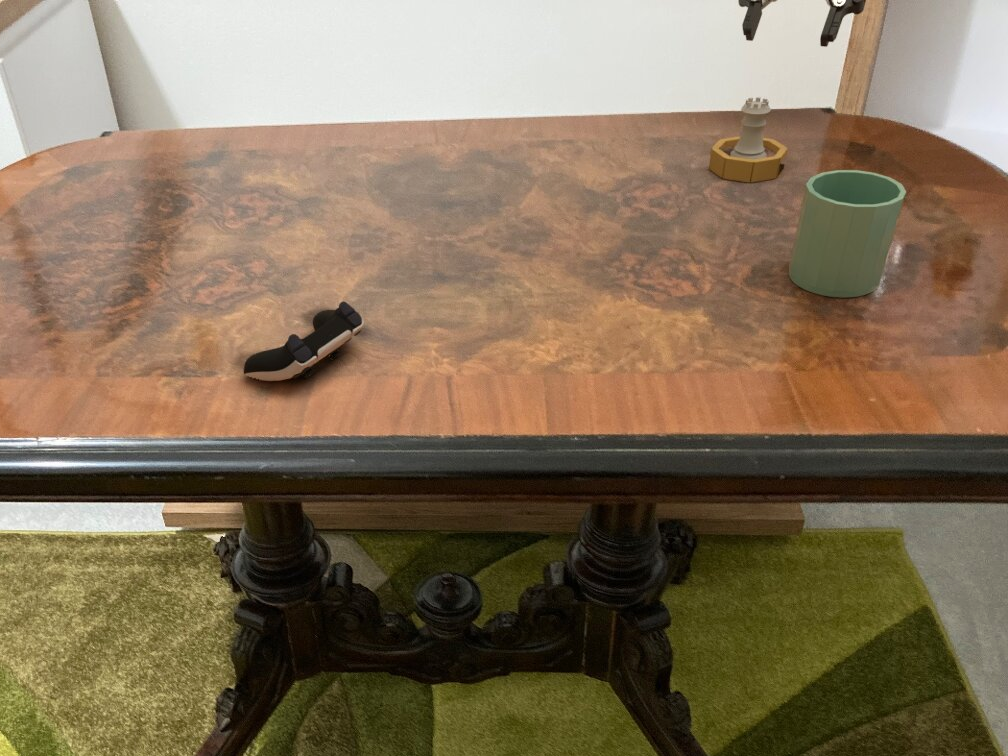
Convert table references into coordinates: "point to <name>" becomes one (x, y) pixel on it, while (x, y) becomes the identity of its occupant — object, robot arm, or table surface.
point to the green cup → (845, 232)
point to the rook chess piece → (752, 130)
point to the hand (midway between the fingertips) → (785, 40)
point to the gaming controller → (307, 346)
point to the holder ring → (747, 162)
